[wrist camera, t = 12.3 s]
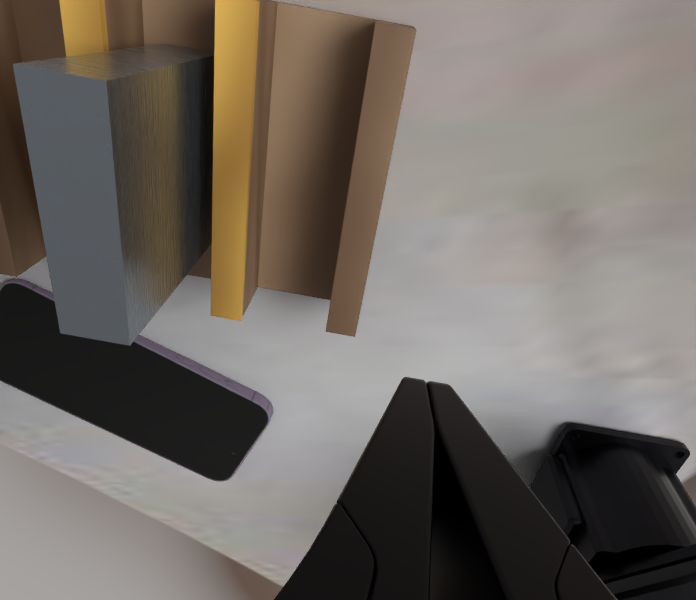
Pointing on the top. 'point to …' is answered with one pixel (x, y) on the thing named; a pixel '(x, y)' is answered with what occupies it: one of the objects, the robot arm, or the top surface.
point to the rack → (243, 135)
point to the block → (120, 179)
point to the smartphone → (129, 387)
